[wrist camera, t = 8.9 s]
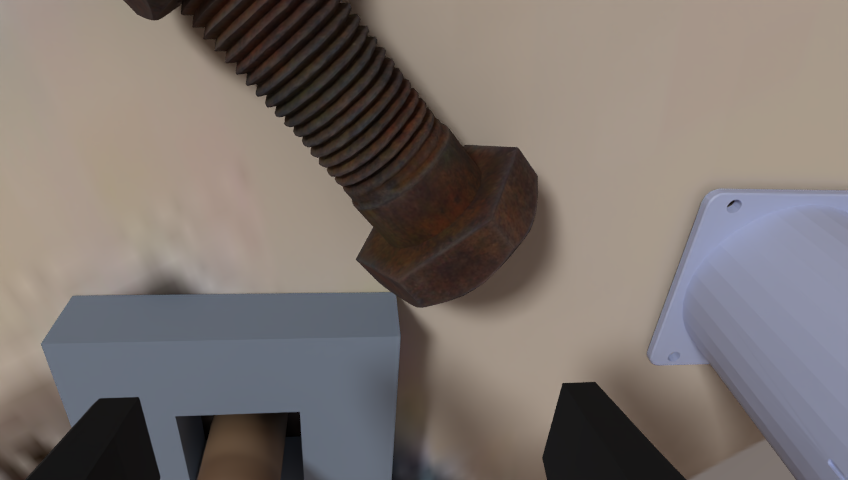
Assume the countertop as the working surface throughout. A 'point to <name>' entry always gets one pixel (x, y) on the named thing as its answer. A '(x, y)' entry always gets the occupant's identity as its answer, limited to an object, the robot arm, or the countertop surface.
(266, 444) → the long walnut pin
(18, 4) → the countertop surface
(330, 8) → the bolt
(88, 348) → the hole block
